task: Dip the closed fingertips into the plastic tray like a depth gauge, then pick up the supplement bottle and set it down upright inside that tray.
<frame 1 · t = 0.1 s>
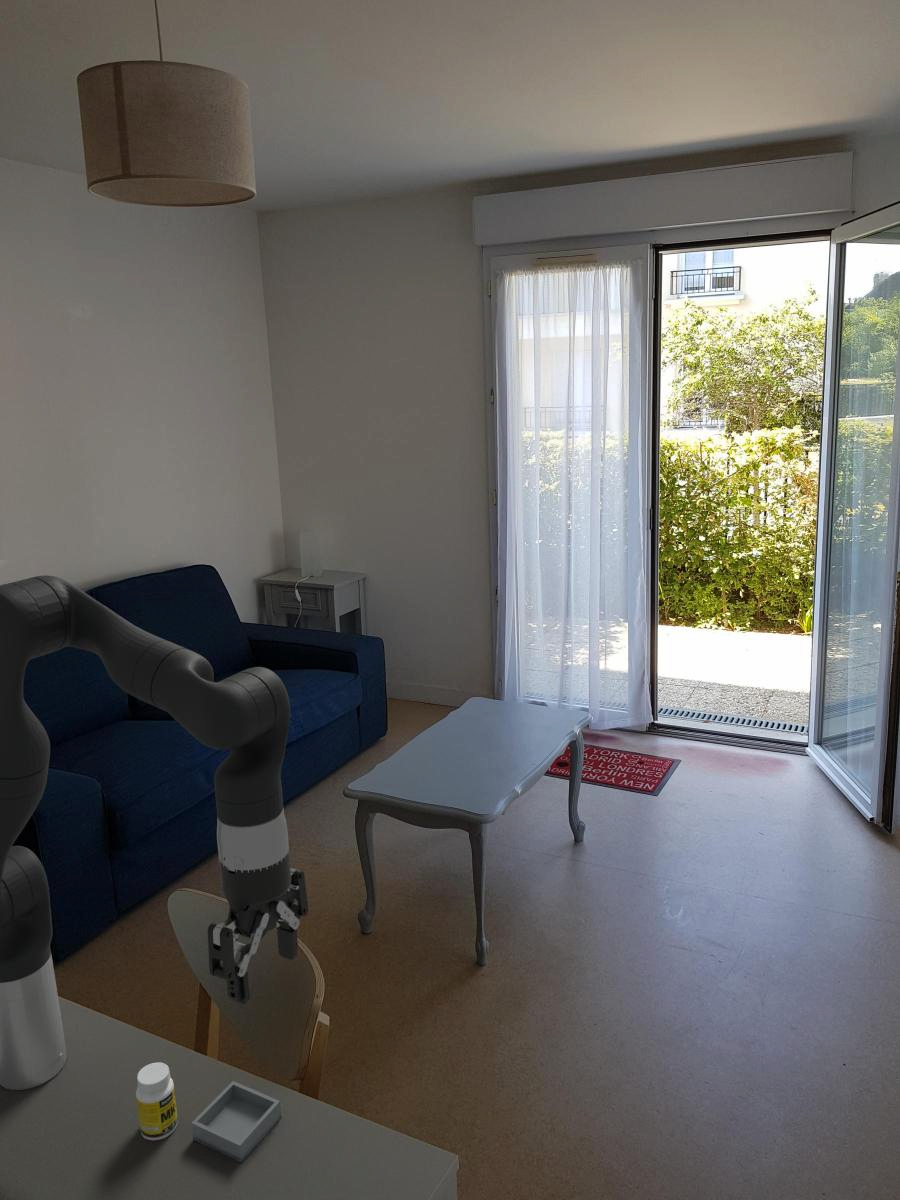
hand: (265, 978, 105), 29 cm above the table, fingers open, 8 cm apart
supplement bottle: (159, 1128, 122), on the table
tray: (237, 1128, 121), on the table
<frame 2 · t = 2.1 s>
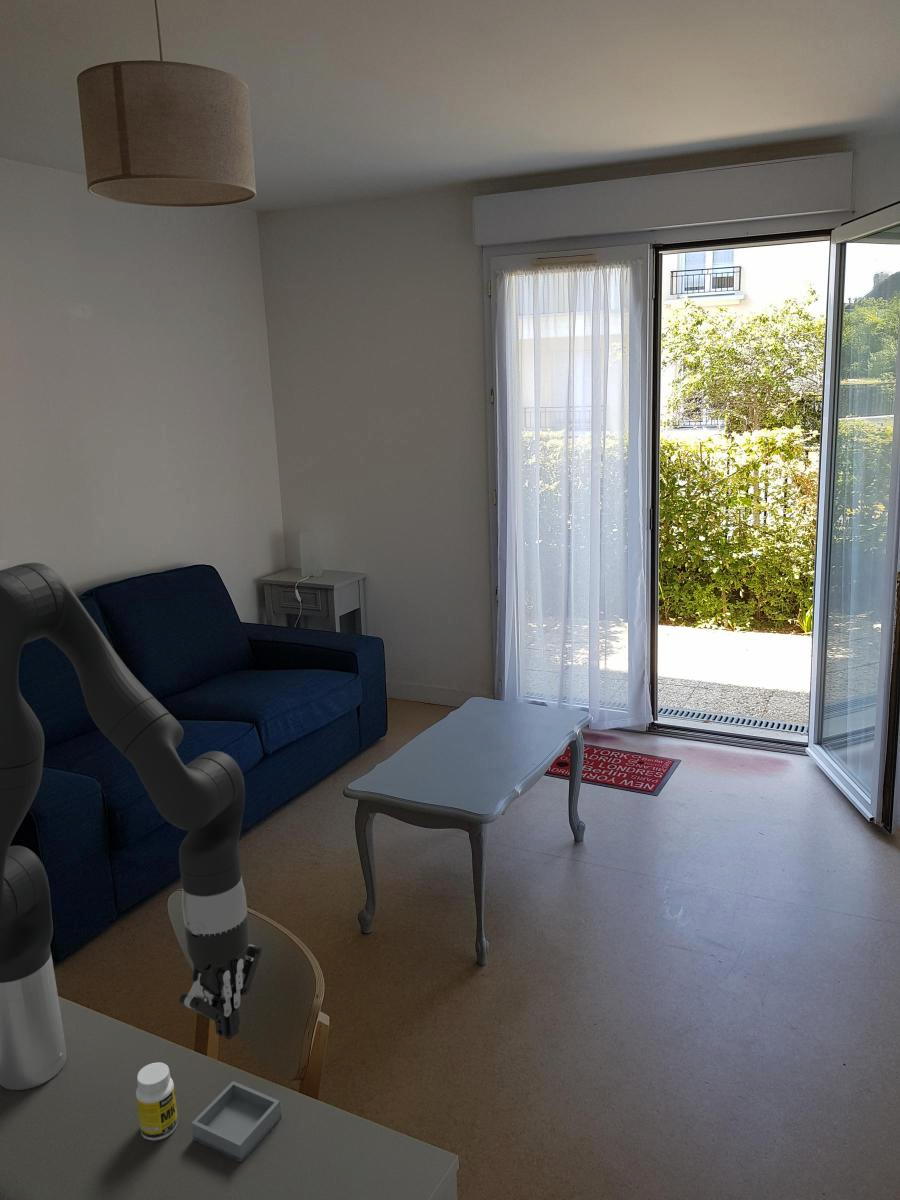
hand: (228, 1034, 117), 14 cm above the table, fingers closed
nothing on the table moved.
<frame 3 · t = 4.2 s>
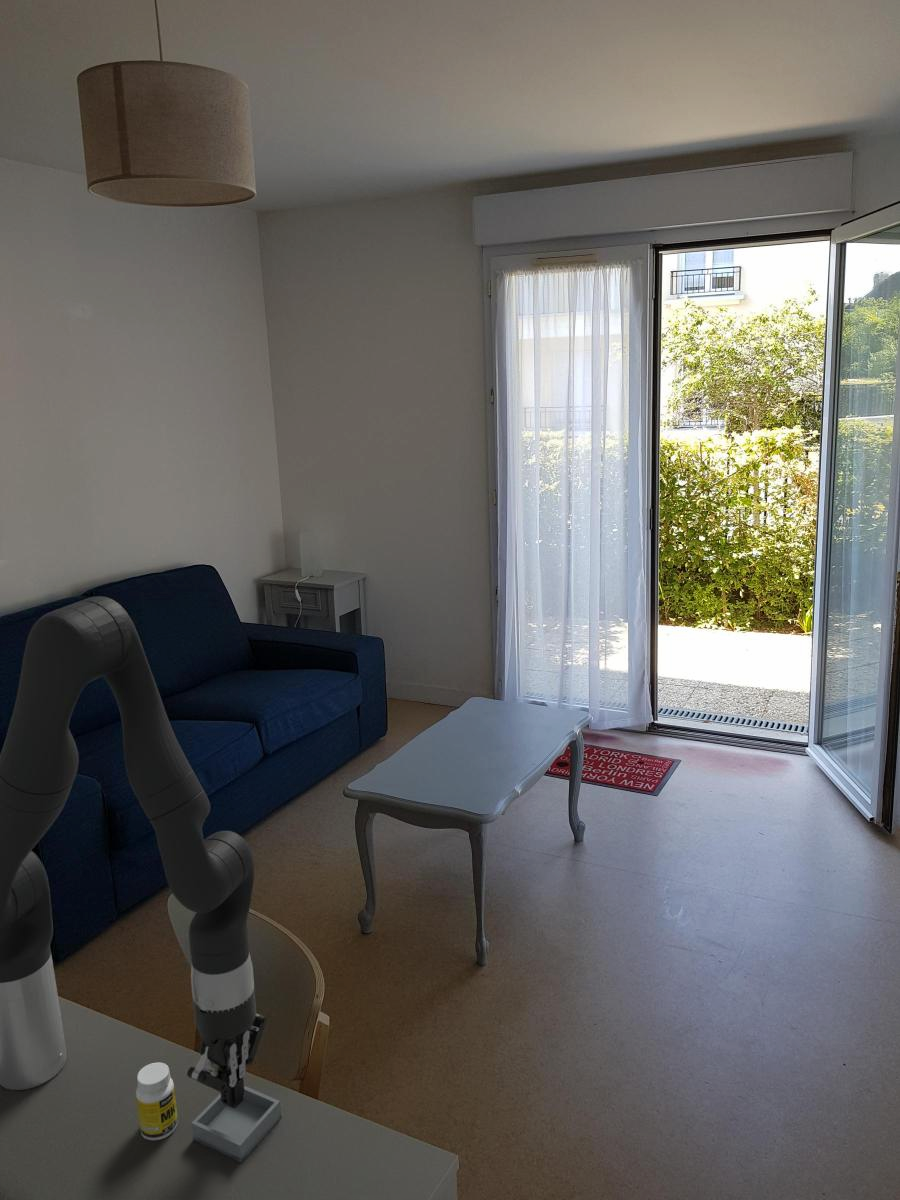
hand: (233, 1102, 120), 4 cm above the table, fingers closed
nothing on the table moved.
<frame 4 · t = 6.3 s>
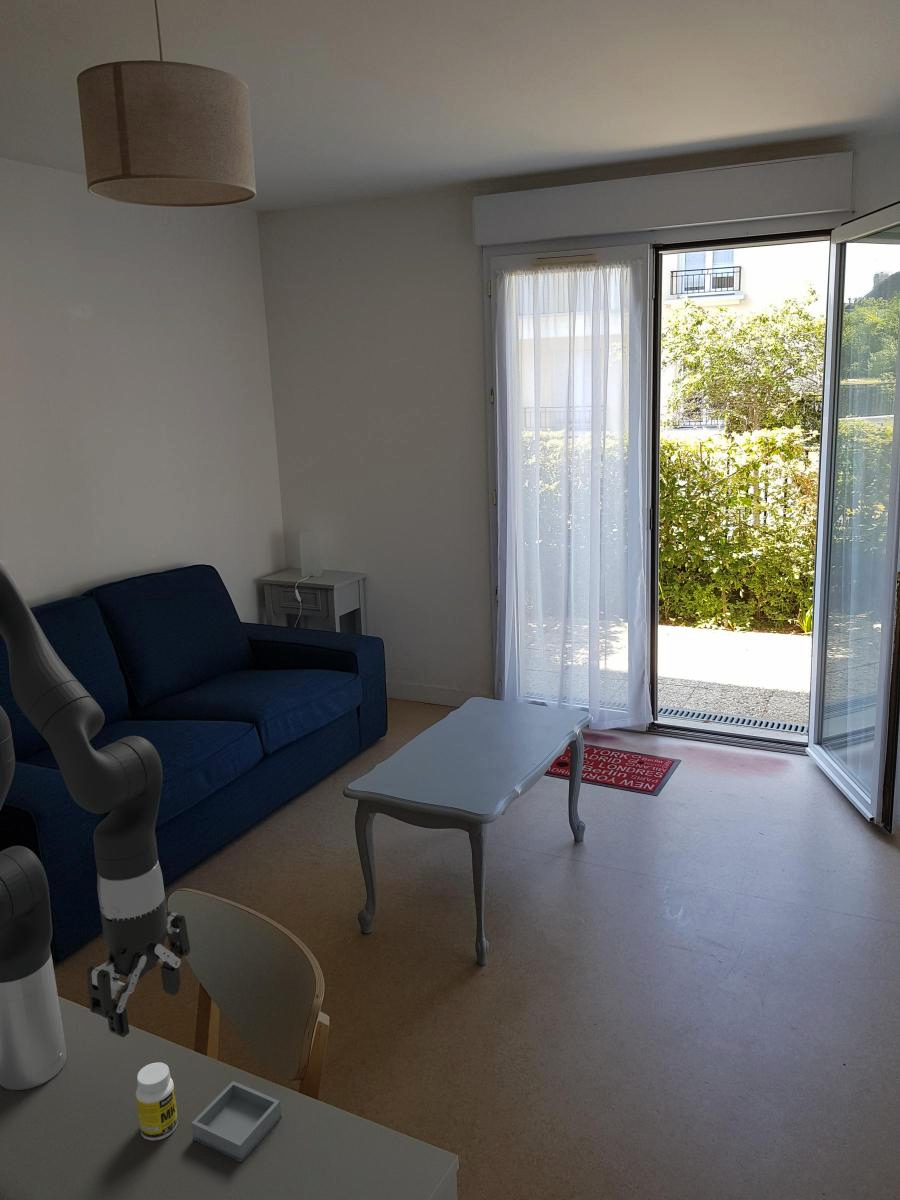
hand: (146, 1012, 117), 18 cm above the table, fingers open, 8 cm apart
nothing on the table moved.
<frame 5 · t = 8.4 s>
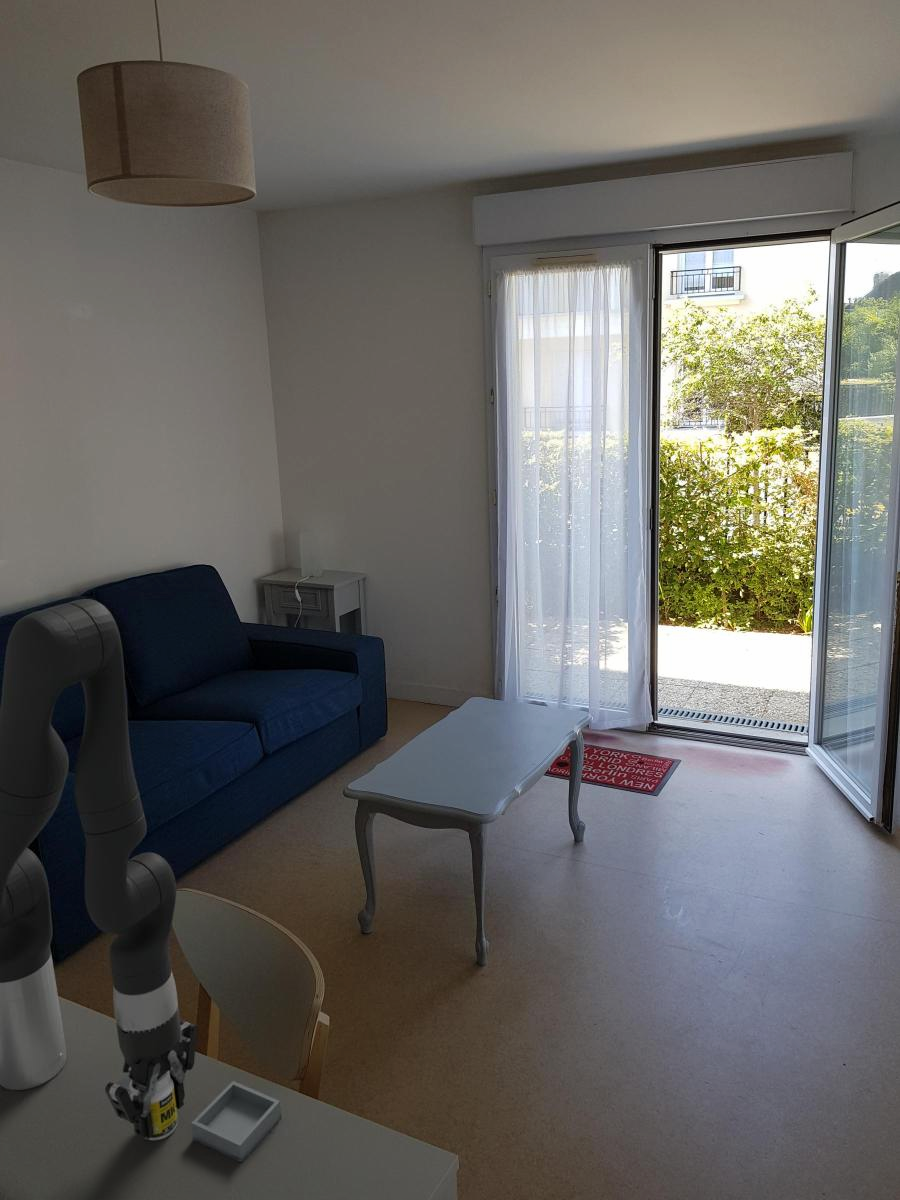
hand: (160, 1119, 121), 1 cm above the table, fingers closed on supplement bottle, 4 cm apart
supplement bottle: (159, 1128, 122), on the table, touching gripper
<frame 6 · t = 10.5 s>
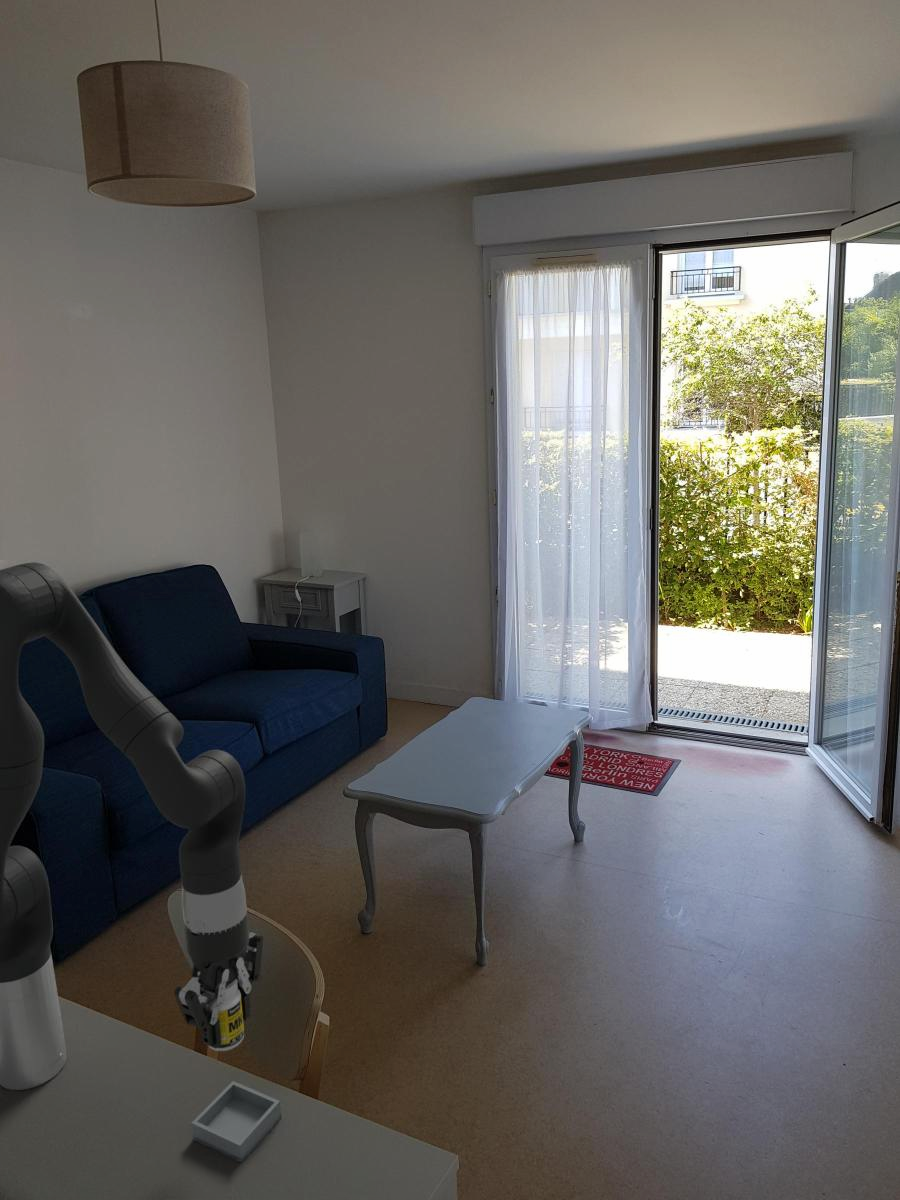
hand: (227, 1030, 117), 15 cm above the table, fingers closed on supplement bottle, 4 cm apart
supplement bottle: (225, 1040, 118), point 13 cm above the table, touching gripper
when the fingers open (4 cm above the table, at t = 12.9 s): supplement bottle drops 2 cm, resting on tray.
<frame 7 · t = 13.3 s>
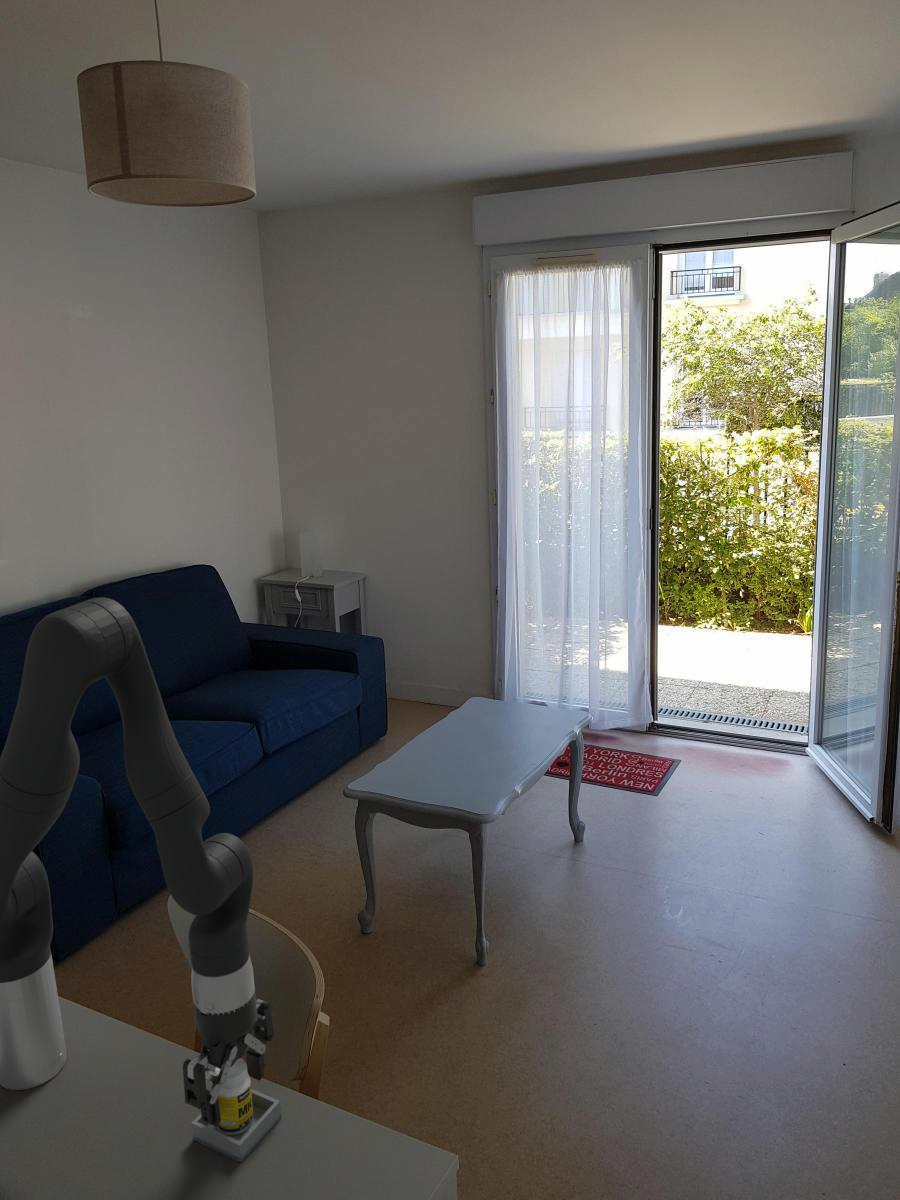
hand: (234, 1099, 120), 5 cm above the table, fingers open, 8 cm apart
supplement bottle: (235, 1123, 121), resting on tray
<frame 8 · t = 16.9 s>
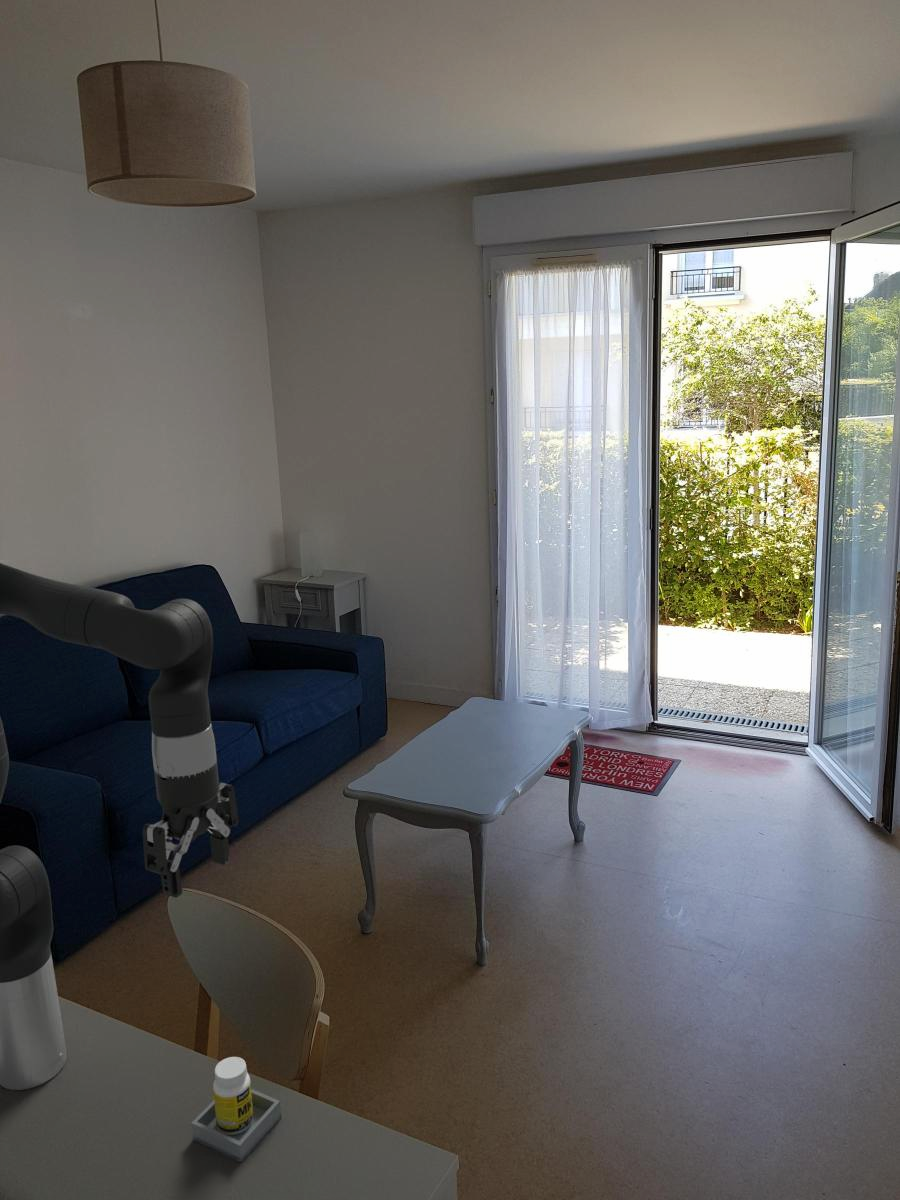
hand: (197, 878, 119), 33 cm above the table, fingers open, 8 cm apart
nothing on the table moved.
at the end: supplement bottle 0.5 cm off-centre on the tray, point 0.4 cm above the tray's base; supplement bottle tilted 1°; the gripper is holding nothing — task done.
